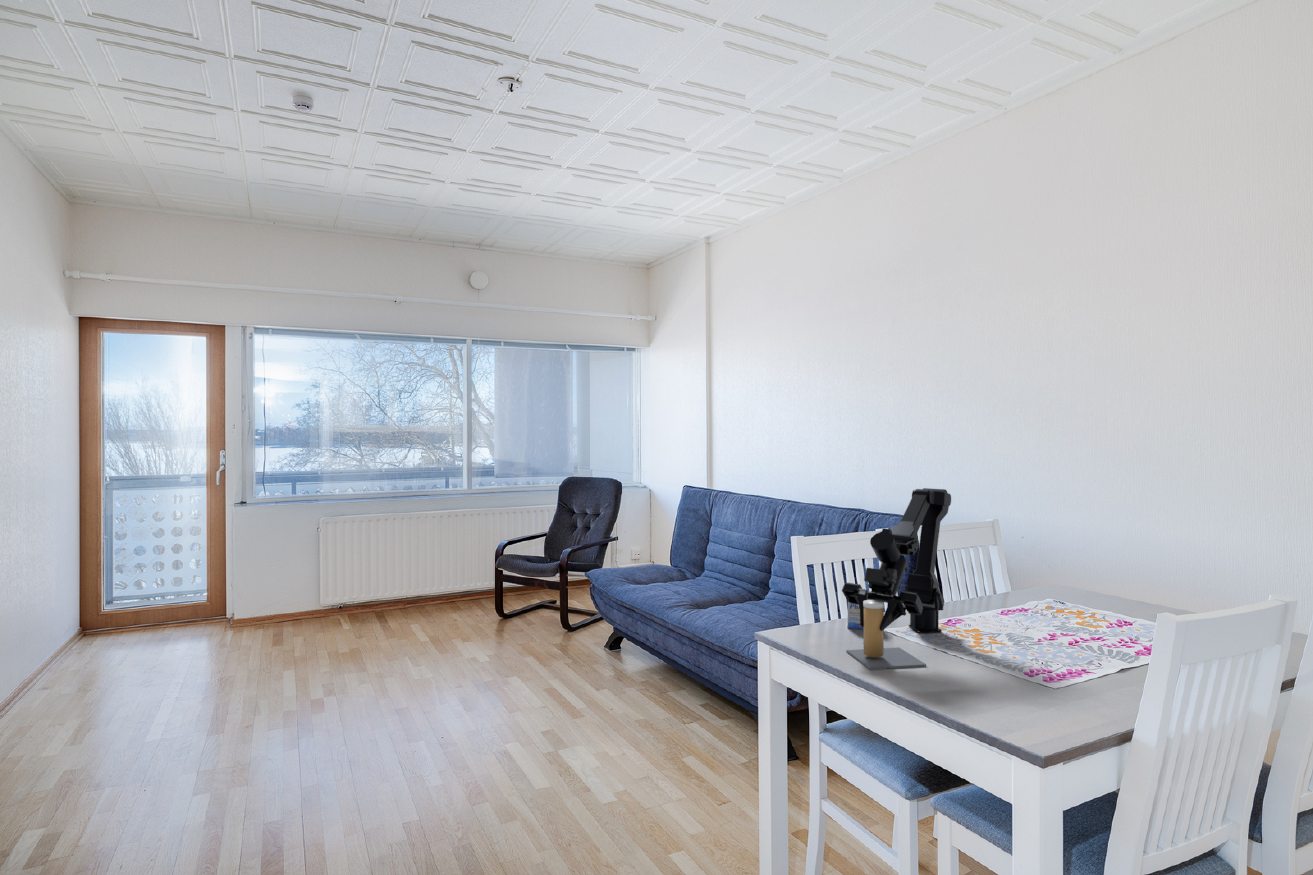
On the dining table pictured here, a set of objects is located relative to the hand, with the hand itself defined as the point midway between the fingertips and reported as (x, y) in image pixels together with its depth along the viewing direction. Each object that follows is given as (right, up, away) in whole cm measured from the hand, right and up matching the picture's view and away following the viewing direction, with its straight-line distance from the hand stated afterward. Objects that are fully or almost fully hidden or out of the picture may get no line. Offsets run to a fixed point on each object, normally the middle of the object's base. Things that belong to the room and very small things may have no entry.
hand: (871, 627), depth 173 cm
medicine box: (+6, -8, +29) cm, 30 cm away
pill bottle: (+1, -7, +1) cm, 7 cm away
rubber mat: (+4, -8, +2) cm, 9 cm away
